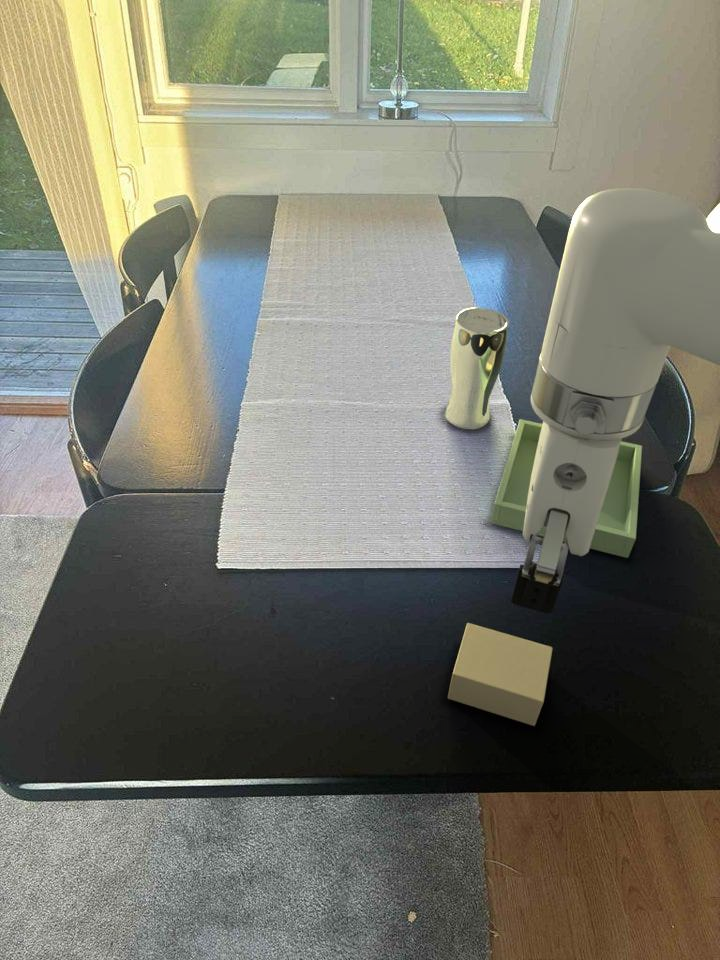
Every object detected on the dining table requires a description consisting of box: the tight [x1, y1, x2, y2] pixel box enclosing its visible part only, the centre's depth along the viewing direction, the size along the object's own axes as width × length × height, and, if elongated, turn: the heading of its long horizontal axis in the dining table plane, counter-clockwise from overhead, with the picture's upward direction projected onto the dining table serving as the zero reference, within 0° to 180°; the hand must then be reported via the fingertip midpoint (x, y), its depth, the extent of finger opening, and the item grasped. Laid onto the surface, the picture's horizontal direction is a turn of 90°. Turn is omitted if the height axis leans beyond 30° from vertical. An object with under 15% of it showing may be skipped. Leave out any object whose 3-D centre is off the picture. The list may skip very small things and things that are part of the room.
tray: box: [490, 418, 643, 559], centre depth 85 cm, size 16×18×3 cm
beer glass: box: [444, 307, 510, 431], centre depth 93 cm, size 7×7×15 cm
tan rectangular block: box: [447, 622, 554, 727], centre depth 64 cm, size 8×6×4 cm
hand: (540, 562), depth 58 cm, fingers open, 9 cm apart
